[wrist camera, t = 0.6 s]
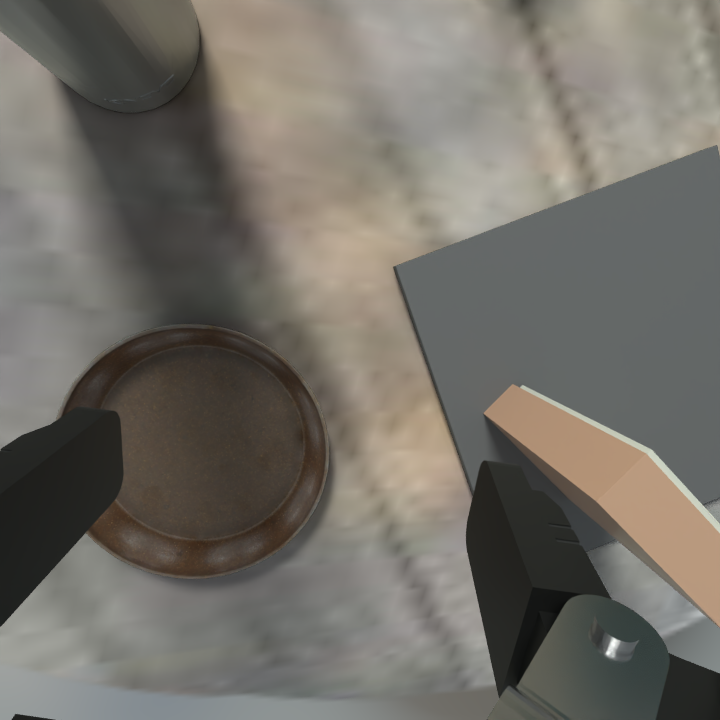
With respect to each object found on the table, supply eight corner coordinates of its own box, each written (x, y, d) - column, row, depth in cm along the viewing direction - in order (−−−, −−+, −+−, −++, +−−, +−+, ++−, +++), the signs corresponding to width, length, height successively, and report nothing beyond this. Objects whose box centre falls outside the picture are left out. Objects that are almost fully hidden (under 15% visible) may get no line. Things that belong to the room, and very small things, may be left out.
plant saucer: (370, 389, 35) (375, 399, 32) (262, 589, 37) (258, 617, 34) (139, 274, 32) (121, 273, 29) (34, 498, 34) (7, 519, 31)
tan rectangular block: (568, 499, 37) (724, 632, 23) (483, 413, 35) (596, 501, 21) (601, 468, 36) (777, 582, 23) (516, 380, 34) (652, 446, 21)
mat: (393, 266, 33) (395, 266, 32) (705, 148, 34) (717, 145, 33) (500, 576, 38) (505, 584, 37) (770, 467, 39) (782, 471, 38)
